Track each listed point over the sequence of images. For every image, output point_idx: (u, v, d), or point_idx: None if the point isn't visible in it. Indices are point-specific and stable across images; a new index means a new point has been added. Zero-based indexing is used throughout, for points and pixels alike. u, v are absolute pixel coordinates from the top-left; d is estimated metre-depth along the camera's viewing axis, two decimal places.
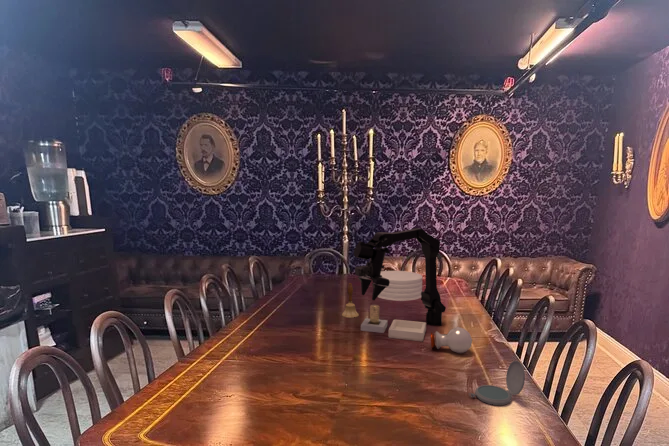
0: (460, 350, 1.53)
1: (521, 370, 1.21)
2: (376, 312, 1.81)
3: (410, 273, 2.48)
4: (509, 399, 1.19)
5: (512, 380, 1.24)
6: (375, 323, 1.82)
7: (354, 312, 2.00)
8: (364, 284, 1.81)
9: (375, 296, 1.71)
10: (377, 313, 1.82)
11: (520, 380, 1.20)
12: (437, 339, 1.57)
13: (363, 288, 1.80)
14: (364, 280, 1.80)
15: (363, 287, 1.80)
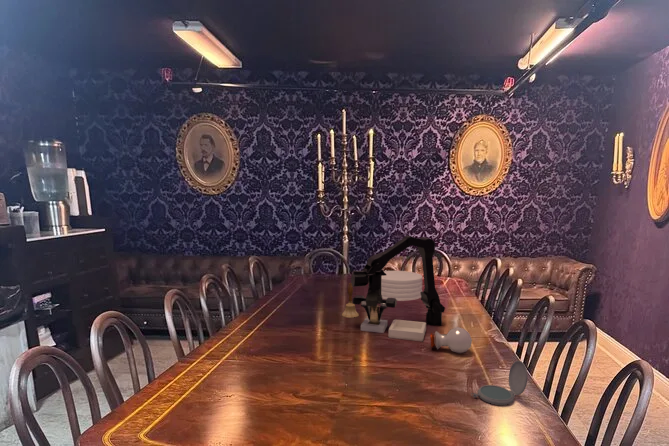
0: (460, 350, 1.53)
1: (524, 370, 1.21)
2: (376, 312, 1.81)
3: (410, 273, 2.48)
4: (512, 399, 1.19)
5: (514, 380, 1.24)
6: (375, 323, 1.82)
7: (354, 312, 2.00)
8: (368, 309, 1.84)
9: None
10: (377, 313, 1.82)
11: (523, 380, 1.20)
12: (437, 339, 1.57)
13: (369, 313, 1.83)
14: (368, 306, 1.83)
15: (369, 313, 1.83)
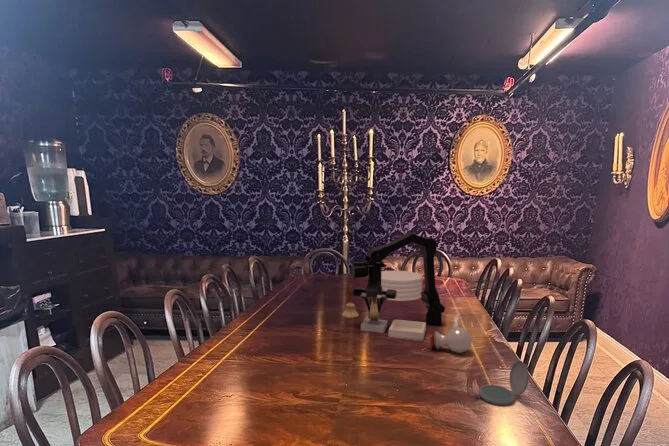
0: (460, 350, 1.53)
1: (525, 370, 1.21)
2: (376, 304, 1.81)
3: (410, 273, 2.48)
4: (513, 399, 1.19)
5: (515, 380, 1.24)
6: (375, 315, 1.81)
7: (354, 312, 2.00)
8: (368, 300, 1.83)
9: None
10: (377, 305, 1.81)
11: (524, 380, 1.20)
12: (437, 339, 1.57)
13: (369, 305, 1.83)
14: (368, 297, 1.83)
15: (369, 304, 1.83)
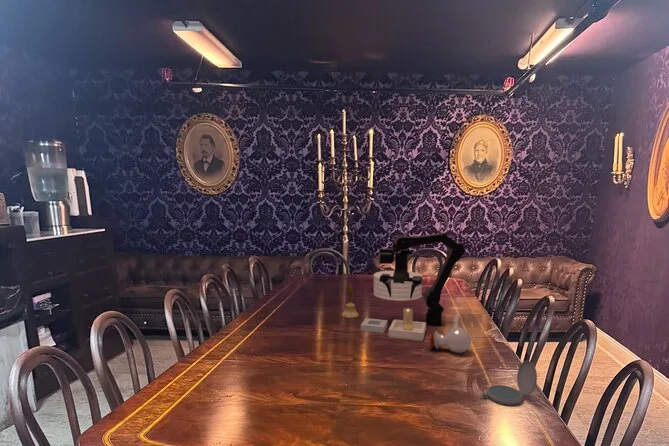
0: (459, 350, 1.53)
1: (533, 370, 1.21)
2: (410, 315, 1.74)
3: (410, 273, 2.48)
4: (521, 399, 1.19)
5: (523, 380, 1.25)
6: (409, 327, 1.74)
7: (354, 312, 2.00)
8: (389, 286, 1.90)
9: (412, 294, 1.88)
10: (411, 316, 1.74)
11: (532, 380, 1.20)
12: (436, 339, 1.57)
13: (390, 291, 1.90)
14: (389, 283, 1.90)
15: (390, 290, 1.90)
